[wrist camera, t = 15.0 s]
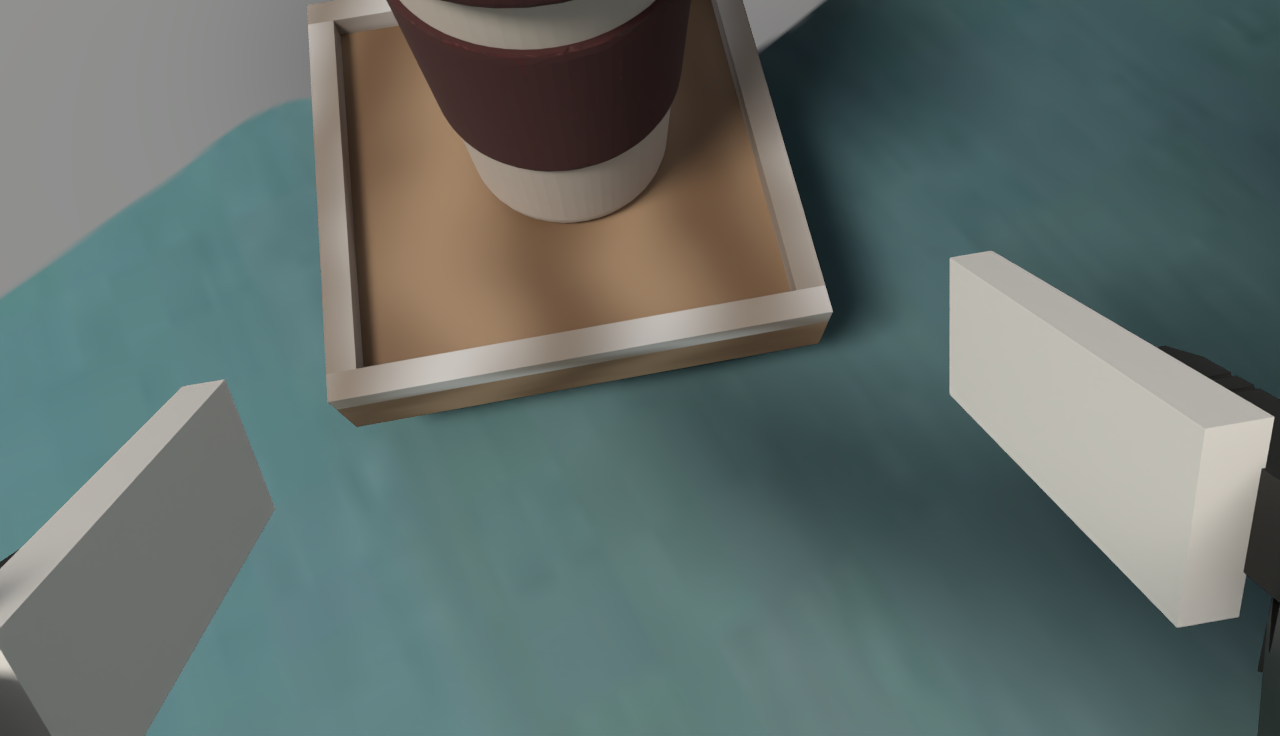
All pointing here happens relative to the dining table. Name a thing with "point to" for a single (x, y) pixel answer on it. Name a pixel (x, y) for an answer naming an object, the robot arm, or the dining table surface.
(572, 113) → the coffee cup
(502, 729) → the dining table surface
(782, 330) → the shallow square tray
